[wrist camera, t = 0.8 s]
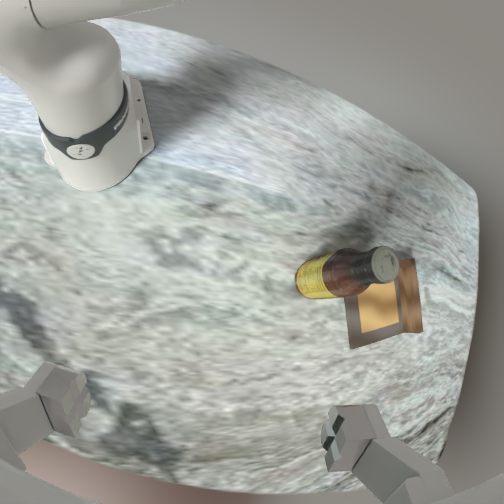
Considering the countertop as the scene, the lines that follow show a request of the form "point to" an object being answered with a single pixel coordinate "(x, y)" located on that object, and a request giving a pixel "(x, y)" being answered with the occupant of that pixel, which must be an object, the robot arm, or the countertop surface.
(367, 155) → the countertop surface
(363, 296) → the corner arena
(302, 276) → the sauce bottle
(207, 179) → the countertop surface
